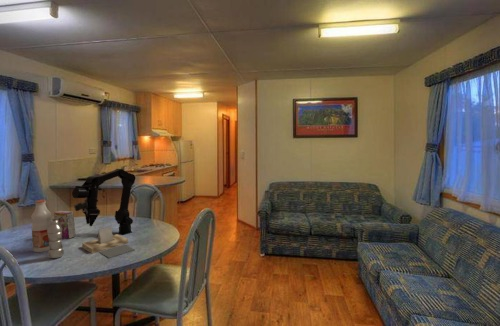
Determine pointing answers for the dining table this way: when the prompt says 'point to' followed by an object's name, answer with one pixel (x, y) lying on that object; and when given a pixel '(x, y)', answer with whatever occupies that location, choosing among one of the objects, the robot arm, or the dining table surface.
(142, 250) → the dining table surface
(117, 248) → the mat
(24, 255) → the dining table surface
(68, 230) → the candy bar box
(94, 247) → the holder
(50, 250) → the plastic bottle
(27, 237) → the dining table surface
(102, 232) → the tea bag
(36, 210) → the fruit juice
